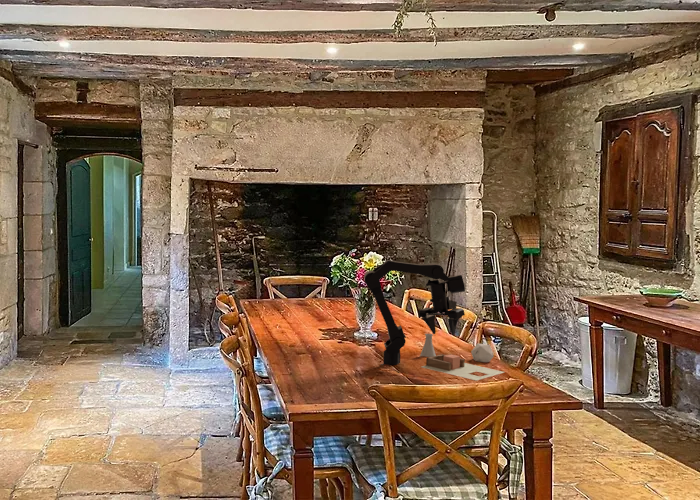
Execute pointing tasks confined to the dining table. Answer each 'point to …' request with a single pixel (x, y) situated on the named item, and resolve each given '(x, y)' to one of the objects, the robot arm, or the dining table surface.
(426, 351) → the flask
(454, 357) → the block
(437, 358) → the cubby
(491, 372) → the board
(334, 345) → the dining table surface
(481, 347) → the die
